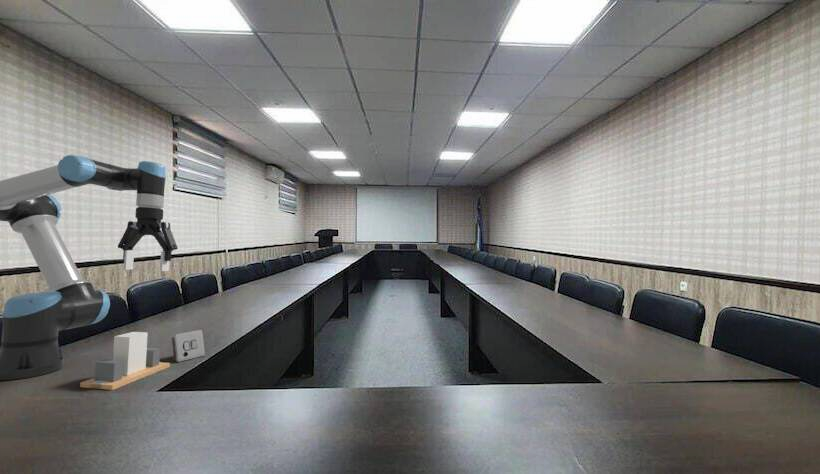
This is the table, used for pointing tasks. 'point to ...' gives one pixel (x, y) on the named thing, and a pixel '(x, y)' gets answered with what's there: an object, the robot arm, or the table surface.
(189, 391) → the table surface
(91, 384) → the board
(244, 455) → the table surface
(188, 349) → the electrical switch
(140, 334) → the block
